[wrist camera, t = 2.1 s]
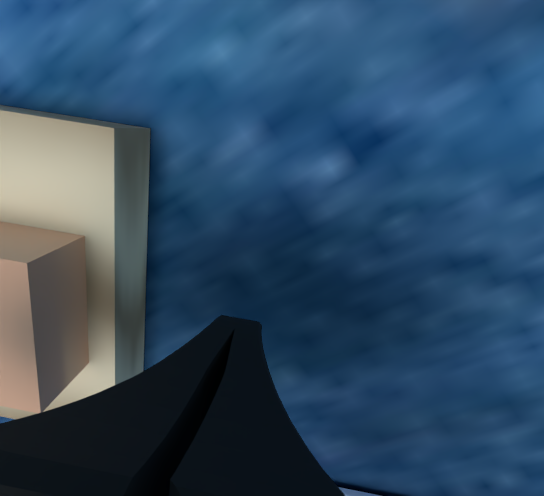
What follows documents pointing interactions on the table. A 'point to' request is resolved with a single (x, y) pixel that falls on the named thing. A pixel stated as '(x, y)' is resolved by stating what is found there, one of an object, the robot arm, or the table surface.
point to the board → (86, 225)
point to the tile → (41, 314)
